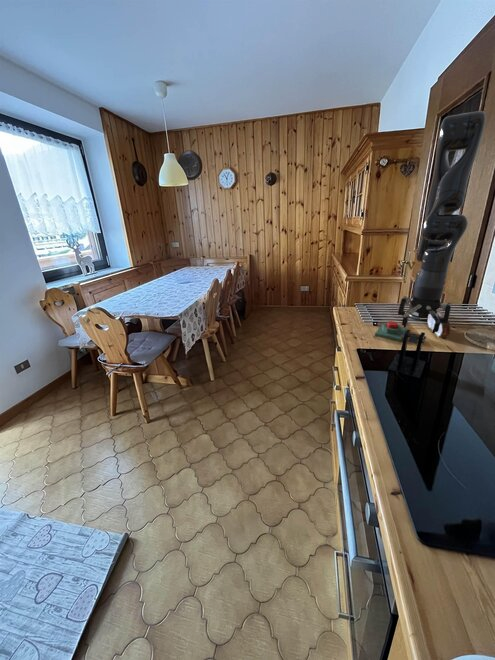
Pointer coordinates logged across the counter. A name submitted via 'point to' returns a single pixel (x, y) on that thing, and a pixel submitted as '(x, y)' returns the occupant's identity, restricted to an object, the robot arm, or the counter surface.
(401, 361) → the bracket
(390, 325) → the button
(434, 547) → the counter surface
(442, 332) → the white and brown slab
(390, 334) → the button box
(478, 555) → the counter surface
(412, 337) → the lever
